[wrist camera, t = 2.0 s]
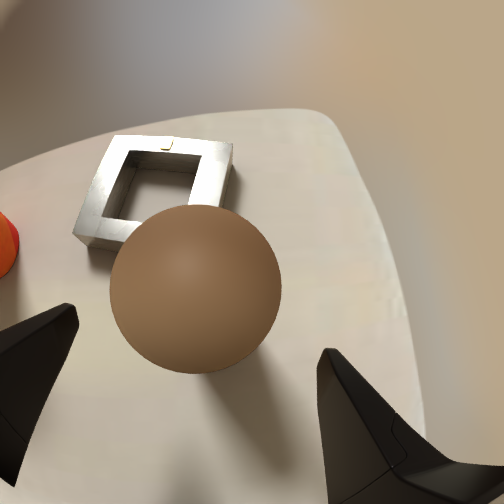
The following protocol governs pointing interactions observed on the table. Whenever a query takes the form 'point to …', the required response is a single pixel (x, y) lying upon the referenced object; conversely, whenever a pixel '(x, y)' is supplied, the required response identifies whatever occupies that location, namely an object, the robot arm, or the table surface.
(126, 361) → the table surface
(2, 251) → the paper cup
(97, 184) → the grey square socket base
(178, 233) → the walnut peg
